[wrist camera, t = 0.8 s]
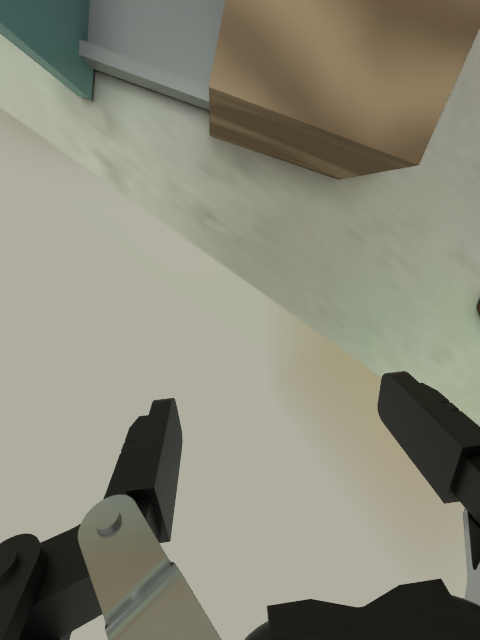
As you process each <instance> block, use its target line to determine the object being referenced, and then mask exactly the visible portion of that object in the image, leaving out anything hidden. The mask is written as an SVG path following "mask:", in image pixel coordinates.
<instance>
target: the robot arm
mask: <svg viewBox="0 0 480 640" xmlns="http://www.w3.org/2000/svg"><path fill="white" fill-rule="evenodd" d="M378 413H379V416H380V418H381V420H382V422H383V423H384V425H385V426H386V427H387V428H388V430H389V431H390V432H391V434H392V435H393V436H394V438H395V439H396V440H397V442H398V443H399V444H400V446H401V447H402V448H403V450H404V451H405V452H406V454H407V455H408V456H409V458H410V459H411V460H412V462H413V463H414V464H415V465H416V467H417V468H418V469H419V470H420V472H421V473H422V475H423V476H424V477H425V479H426V480H427V481H428V482H429V484H430V485H431V486H432V488H433V489H434V490H435V492H436V493H437V495H438V496H439V497H440V498H441V500H442V501H443V502H444V503H451V502H458V501H460V502H461V503H462V504H463V506H464V507H465V509H464V512H463V521H464V522H463V523H464V536H465V550H466V564H467V588H466V594H465V599H463V598H459V597H456V596H453V595H450V593H449V592H448V590H447V588H446V586H445V585H444V583H443V581H442V580H441V579H436V580H429V581H423V582H417V583H410V584H404V585H399V586H397V587H396V588H394V589H392V590H390V591H389V592H387V593H386V594H384V595H383V596H381V597H379V598H377V599H376V600H374V601H373V602H371V603H369V604H367V605H366V606H364V607H358V608H357V607H351V606H346V605H340V604H335V603H329V602H324V601H318V600H313V599H308V600H302V601H296V602H290V603H284V604H276V605H271V606H267V612H268V621H267V622H266V623H264V624H262V625H261V626H259V627H258V628H256V629H255V630H254V631H253V632H252V633H250V634H249V635H248V636H247V637H246V638H245V640H480V427H479V426H478V425H477V424H476V423H474V422H473V421H472V420H471V419H470V418H469V417H467V416H466V415H465V414H464V413H463V412H462V411H459V409H458V408H457V407H456V406H455V405H453V404H452V403H450V402H449V400H448V399H446V398H445V397H444V396H443V395H442V394H441V393H439V392H438V391H437V390H435V389H433V388H431V387H429V386H427V385H425V384H424V383H419V382H418V381H417V380H416V379H414V378H413V377H412V376H411V375H410V374H409V373H407V372H405V371H402V372H393V373H385V374H384V375H383V376H382V379H381V386H380V393H379V400H378ZM181 451H182V430H181V425H180V420H179V416H178V410H177V406H176V401H175V399H174V398H170V399H161V400H154V401H153V402H152V406H151V409H150V412H149V415H147V416H139V417H138V419H137V420H136V421H135V422H134V423H133V424H132V426H131V427H130V428H129V431H128V434H127V437H126V439H125V443H124V445H123V448H122V450H121V454H120V456H119V458H118V461H117V464H116V467H115V469H114V472H113V475H112V478H111V480H110V483H109V486H108V489H107V491H106V494H105V497H104V499H103V500H102V501H100V502H99V503H97V504H96V505H95V506H94V507H93V508H92V509H91V510H90V511H89V512H88V513H87V514H86V516H85V517H84V519H83V521H82V523H81V524H79V525H78V526H76V527H74V528H72V529H70V530H69V531H66V532H64V533H61V534H59V535H57V536H55V537H52V538H50V539H48V540H46V541H44V542H41V543H40V542H39V540H38V538H37V537H35V536H34V535H32V534H20V535H16V536H14V537H11V538H9V539H7V540H5V541H3V542H2V543H1V544H0V640H69V639H70V635H71V632H72V631H73V630H75V629H77V628H79V627H80V626H82V625H84V624H86V623H87V622H89V621H91V620H93V619H95V618H96V617H98V616H100V615H102V614H103V616H104V619H105V623H106V626H105V630H106V634H107V638H108V640H221V638H220V636H219V635H218V633H217V631H216V630H215V628H214V626H213V625H212V623H211V621H210V620H209V618H208V616H207V615H206V613H205V612H204V610H203V608H202V607H201V605H200V603H199V601H198V600H197V598H196V596H195V595H194V593H193V591H192V590H191V588H190V586H189V585H188V583H187V581H186V580H185V578H184V576H183V575H182V573H181V572H180V570H179V568H178V567H177V566H176V564H175V563H174V562H172V563H171V562H170V560H169V559H168V557H167V556H166V554H165V552H164V550H163V549H162V547H161V545H160V544H159V543H163V542H169V541H170V539H171V530H172V523H173V514H174V506H175V498H176V491H177V483H178V475H179V467H180V459H181Z"/></svg>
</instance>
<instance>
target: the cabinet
mask: <svg viewBox="0 0 480 640" xmlns="http://www.w3.org/2000/svg"><path fill="white" fill-rule="evenodd" d="M479 28H480V0H225V5H224V10H223V15H222V20H221V26H220V31H219V36H218V41H217V46H216V52H215V57H214V62H213V67H212V72H211V78H210V83H209V122H210V136H213V137H215V138H218V139H221V140H224V141H227V142H230V143H233V144H236V145H239V146H242V147H245V148H248V149H251V150H254V151H257V152H259V153H262V154H265V155H268V156H271V157H274V158H277V159H280V160H283V161H286V162H289V163H292V164H295V165H298V166H301V167H303V168H306V169H309V170H312V171H315V172H318V173H321V174H324V175H327V176H330V177H333V178H336V179H344V178H350V177H355V176H361V175H366V174H372V173H378V172H383V171H389V170H394V169H400V168H405V167H411V166H417V165H419V163H420V161H421V158H422V156H423V154H424V152H425V149H426V147H427V145H428V143H429V140H430V138H431V136H432V134H433V131H434V129H435V127H436V125H437V122H438V120H439V118H440V116H441V113H442V111H443V109H444V107H445V105H446V102H447V100H448V98H449V96H450V93H451V91H452V89H453V87H454V84H455V82H456V80H457V78H458V75H459V73H460V71H461V69H462V66H463V64H464V62H465V60H466V57H467V55H468V53H469V51H470V48H471V46H472V44H473V42H474V39H475V37H476V35H477V33H478V31H479Z"/></svg>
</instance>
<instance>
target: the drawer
mask: <svg viewBox="0 0 480 640" xmlns="http://www.w3.org/2000/svg"><path fill="white" fill-rule="evenodd" d="M224 5H225V0H0V34H2V35H3V36H4V37H5V38H7V39H8V40H9V41H10V42H12V43H13V44H14V45H15V46H17V47H18V48H19V49H20V50H22V51H23V52H24V53H25V54H27V55H28V56H29V57H30V58H32V59H33V60H34V61H35V62H37V63H38V64H39V65H40V66H42V67H43V68H44V69H45V70H47V71H48V72H49V73H50V74H52V75H53V76H54V77H55V78H57V79H58V80H59V81H60V82H62V83H63V84H64V85H65V86H67V87H68V88H69V89H70V90H72V91H73V92H74V93H75V94H77V95H78V96H81V97H84V98H87V99H89V100H91V99H92V85H93V71H94V69H95V70H98V71H101V72H104V73H107V74H109V75H112V76H115V77H118V78H121V79H123V80H126V81H129V82H132V83H135V84H137V85H140V86H143V87H146V88H148V89H151V90H154V91H157V92H160V93H162V94H165V95H168V96H171V97H174V98H176V99H179V100H182V101H185V102H188V103H190V104H193V105H196V106H199V107H202V108H204V109H207V110H209V83H210V78H211V72H212V67H213V62H214V57H215V52H216V46H217V41H218V36H219V31H220V26H221V20H222V15H223V10H224Z"/></svg>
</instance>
